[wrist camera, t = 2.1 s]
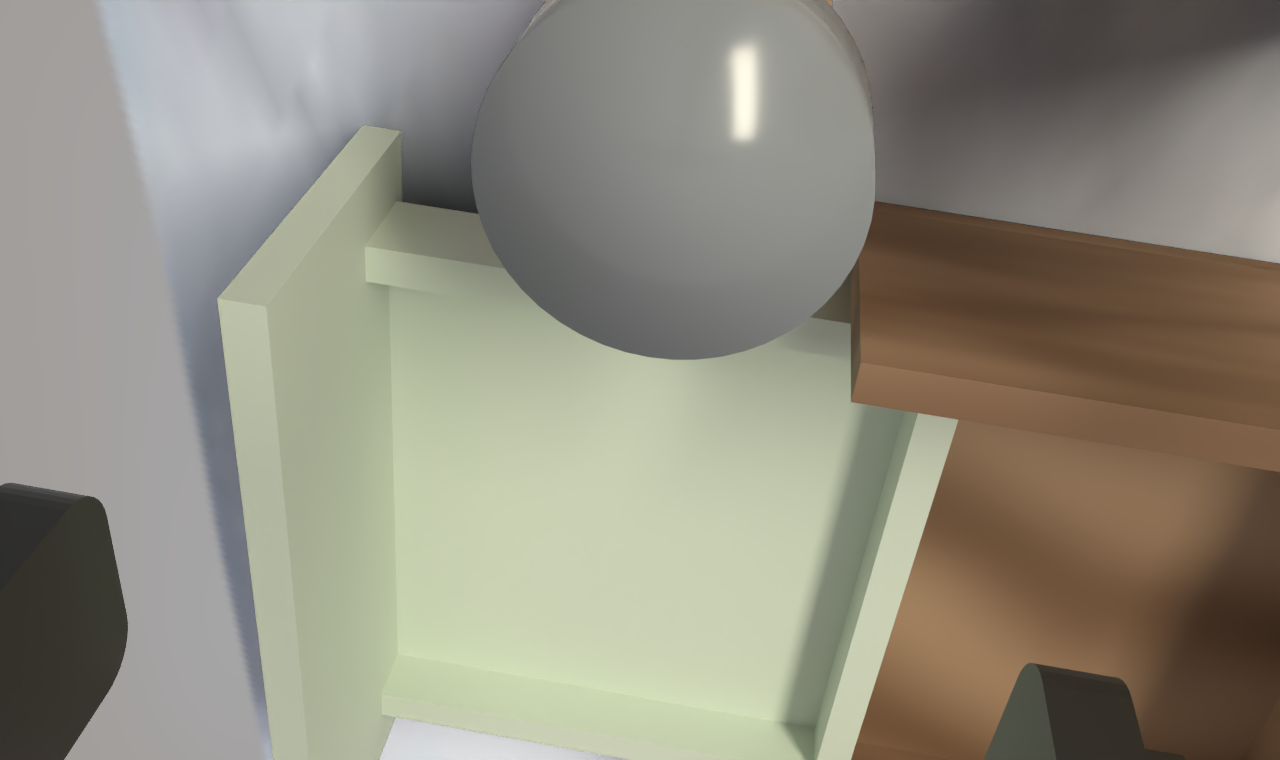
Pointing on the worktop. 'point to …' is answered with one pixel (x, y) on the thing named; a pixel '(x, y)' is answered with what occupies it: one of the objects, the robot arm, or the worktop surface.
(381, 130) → the tray
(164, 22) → the worktop surface
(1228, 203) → the worktop surface
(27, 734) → the robot arm
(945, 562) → the cubby
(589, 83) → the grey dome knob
